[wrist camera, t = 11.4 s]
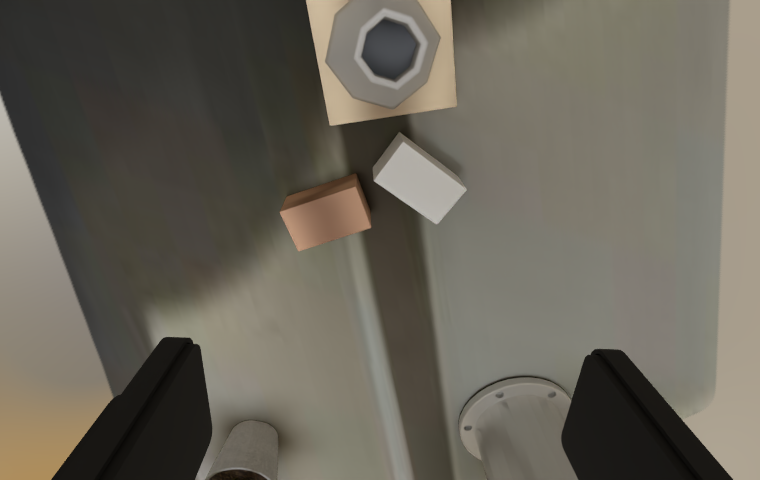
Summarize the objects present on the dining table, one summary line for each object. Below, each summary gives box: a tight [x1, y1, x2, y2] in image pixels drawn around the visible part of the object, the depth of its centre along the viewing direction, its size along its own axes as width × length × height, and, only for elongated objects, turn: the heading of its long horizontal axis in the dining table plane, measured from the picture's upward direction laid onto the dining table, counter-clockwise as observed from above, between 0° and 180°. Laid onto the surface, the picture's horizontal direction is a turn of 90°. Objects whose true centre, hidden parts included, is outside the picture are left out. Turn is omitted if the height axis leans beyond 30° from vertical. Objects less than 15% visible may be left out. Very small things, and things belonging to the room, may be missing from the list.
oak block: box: [306, 0, 457, 126], centre depth 29 cm, size 9×9×3 cm
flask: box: [325, 0, 441, 110], centre depth 23 cm, size 7×7×10 cm
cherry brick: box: [280, 173, 371, 251], centre depth 33 cm, size 6×4×4 cm, turn 108°
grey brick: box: [373, 132, 467, 225], centre depth 32 cm, size 6×4×4 cm, turn 53°
